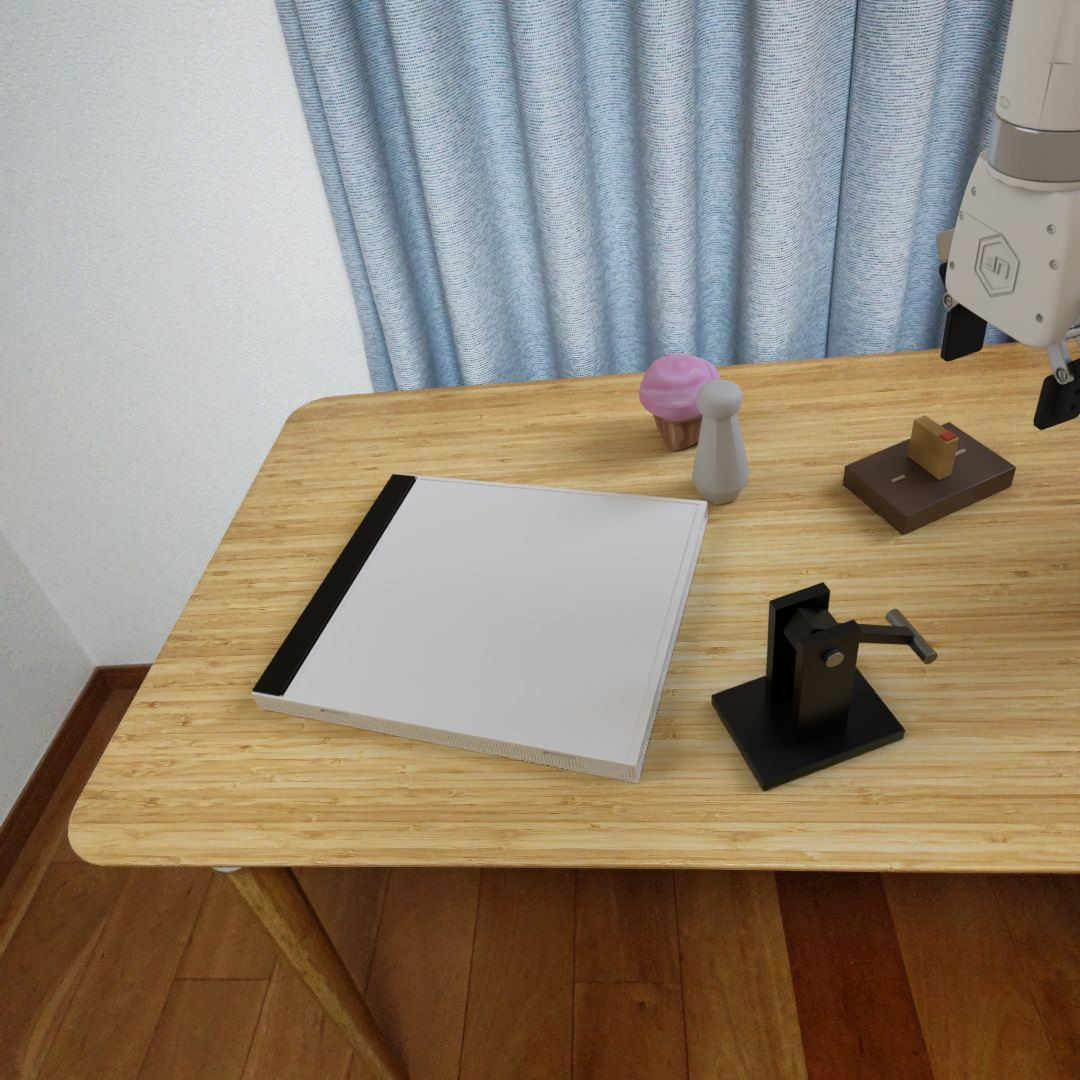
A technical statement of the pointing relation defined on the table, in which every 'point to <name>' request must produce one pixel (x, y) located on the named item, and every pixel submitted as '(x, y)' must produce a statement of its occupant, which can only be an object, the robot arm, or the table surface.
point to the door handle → (862, 631)
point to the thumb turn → (932, 447)
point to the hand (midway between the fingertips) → (1005, 386)
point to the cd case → (498, 621)
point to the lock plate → (926, 482)
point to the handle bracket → (805, 700)
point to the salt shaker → (720, 444)
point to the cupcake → (676, 396)
